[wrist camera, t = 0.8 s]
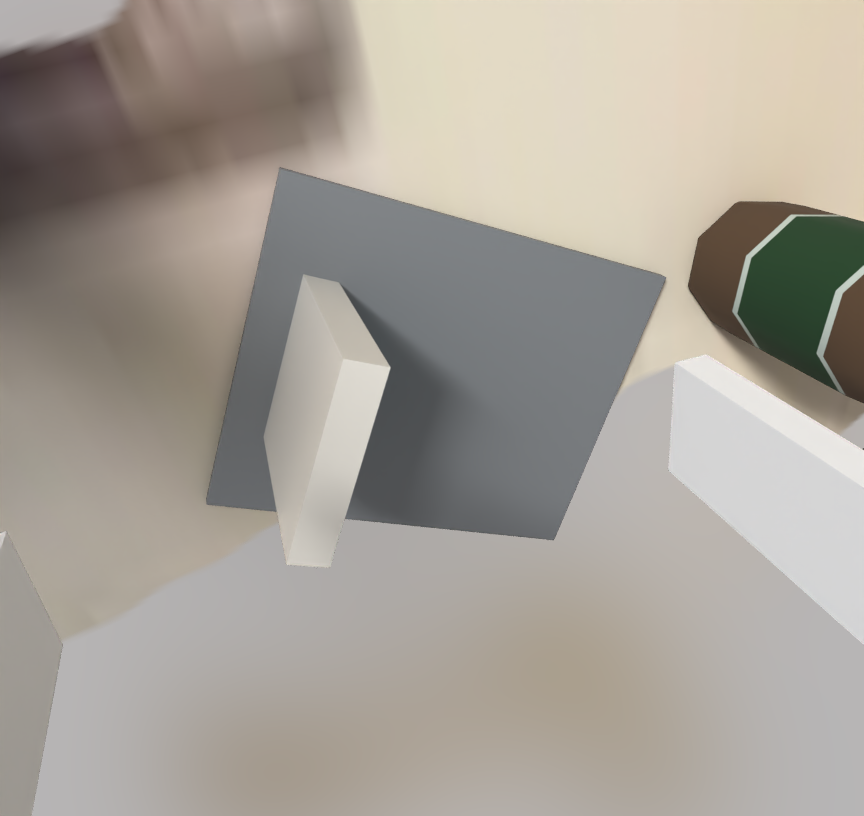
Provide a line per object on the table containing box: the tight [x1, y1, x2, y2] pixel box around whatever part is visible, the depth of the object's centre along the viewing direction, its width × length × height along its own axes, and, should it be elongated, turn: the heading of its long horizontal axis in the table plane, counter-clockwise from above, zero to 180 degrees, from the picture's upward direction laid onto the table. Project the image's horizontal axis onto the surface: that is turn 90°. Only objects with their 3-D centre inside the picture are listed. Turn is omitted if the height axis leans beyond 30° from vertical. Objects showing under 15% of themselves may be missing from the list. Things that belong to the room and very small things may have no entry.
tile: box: [264, 274, 391, 568], centre depth 33 cm, size 2×9×11 cm, turn 162°
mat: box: [206, 167, 666, 540], centre depth 41 cm, size 22×18×1 cm
